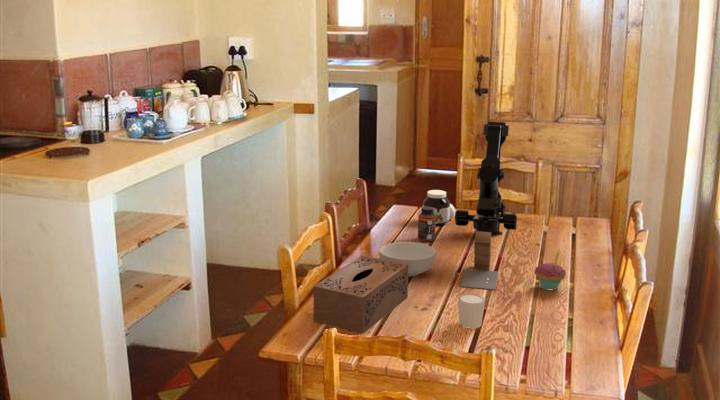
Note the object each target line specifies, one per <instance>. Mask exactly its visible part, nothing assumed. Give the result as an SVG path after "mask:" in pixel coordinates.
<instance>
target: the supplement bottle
mask: <svg viewBox="0 0 720 400" xmlns="http://www.w3.org/2000/svg"><path fill="white" fill-rule="evenodd" d="M417 217H418V219H417V221H418V222H417V239H418V240H419V241H421V242H428V243H429V242H433V241H435V240H436V227H437V226H436V215H435V214H434V213H433V207H429V206H425V207H421V212H420V213H419V214H418V216H417Z"/></svg>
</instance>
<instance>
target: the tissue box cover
mask: <svg viewBox="0 0 720 400" xmlns="http://www.w3.org/2000/svg"><path fill="white" fill-rule="evenodd" d="M408 292H409V277H408V264H403V263H397V262H392V261H387V260H382V259H380V258H376V257H372V256H367V255H360V256H359V257H358V258H356V259H354V260H353V261H351V262H350V263H348V264H346V265H345V266H343V267H342V268H340V269H339V270H337V271H335V272H333V273H332V274H331V275H329V276H327V277H326V278H324V279H322V280H321V281H319V282H318V283H316V284H315V285H313V322H315V323H319V324H323V325H326V326H331V327H334V326H335V328H337V329H338V328H339V329H342V330H345V331H346V330H347V331H351V332H354V333H358V334H362V333H363V334H364V333H366V332H367V331H369V329H371V328H372V327H374V325H376V324H377V323H378V322H379V321H381V320H382V319H383V318H384V317H385V316H387V315H388V314H389V313H391V312H392V311H393V310H394V309H395V308H397V307H398V306H399V305H400V304H402V303H403V302H404V301H405V300H407V299H408V298H409V296H408V294H409V293H408Z"/></svg>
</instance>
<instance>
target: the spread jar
mask: <svg viewBox="0 0 720 400" xmlns="http://www.w3.org/2000/svg"><path fill="white" fill-rule="evenodd" d="M425 206H429V207H433V213H434V214H435V215H436V227H440V226H444V225H445V224H447V223H448V222H449V220H452V219H453V218H455V212H456V211H457V210H456V208H455V207H454V205H453V204H452V203H450V200H449V199H448V198H447V191H444V190H440V189H431V190H428V191H427V195H426V198H425V199H424V200H423V202H422V207H425ZM422 207H421V208H422Z"/></svg>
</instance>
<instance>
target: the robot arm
mask: <svg viewBox="0 0 720 400" xmlns="http://www.w3.org/2000/svg"><path fill="white" fill-rule="evenodd" d="M509 130H510V125H509V124H507V123H506V121H489V120H488V122H487V123H484V124H483V134H482V135H483V136H485V140H486V143H487V145H486V151H485V154H486V155H485V157H484V158H483V159H482V160H481V163H480V167H478V169H477V174H476V177H477V178H476V179H477V180H478V182H479V183H478V187H479V193H478V201H477V204H476V211H475V212H476V213H475V214H470V213H469V210H466V209H465V210H463V209H457V210H456V212H455V216H454V222H455V225H456V226H461V227H462V226H463V227H466V226H468V225H469V223H470V222H473V223H472V224H473V229H474V230H476V231H480V232H491V237H494V236H499V235H502V234H503V232H501V231H500V227H501V225H500V224H502V225H503V228H504V229H505V230H511V231H514V230H517V223H518V222H517V221H518V215H517V214H516V213H508V212H506V206H505V204H504V201H502V200H503V198H502V194H501V193H500V191H499V184H500V183H501V181H502V180H503V179H505V172H504V168H502V161H501V154H502V153H501V152H502V147H503V146H504V144H505V143H506V141H507V137H508V136H509V132H510V131H509Z"/></svg>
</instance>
